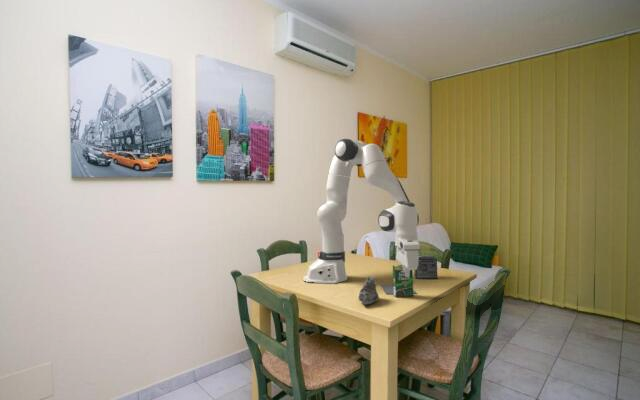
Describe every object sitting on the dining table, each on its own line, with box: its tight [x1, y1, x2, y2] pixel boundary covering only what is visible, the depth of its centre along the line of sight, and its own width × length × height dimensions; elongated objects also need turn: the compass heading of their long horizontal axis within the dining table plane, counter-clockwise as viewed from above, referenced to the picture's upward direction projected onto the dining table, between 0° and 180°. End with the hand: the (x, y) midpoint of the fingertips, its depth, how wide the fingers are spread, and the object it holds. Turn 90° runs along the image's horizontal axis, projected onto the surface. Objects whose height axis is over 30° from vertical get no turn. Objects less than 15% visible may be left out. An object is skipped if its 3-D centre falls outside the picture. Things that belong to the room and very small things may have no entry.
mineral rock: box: [358, 276, 380, 305], centre depth 137 cm, size 13×11×10 cm
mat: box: [380, 284, 418, 295], centre depth 153 cm, size 13×14×1 cm
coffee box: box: [392, 264, 414, 298], centre depth 144 cm, size 8×3×13 cm, turn 98°
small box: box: [413, 256, 438, 280], centre depth 174 cm, size 11×6×10 cm, turn 84°
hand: (406, 276), depth 137 cm, fingers closed
